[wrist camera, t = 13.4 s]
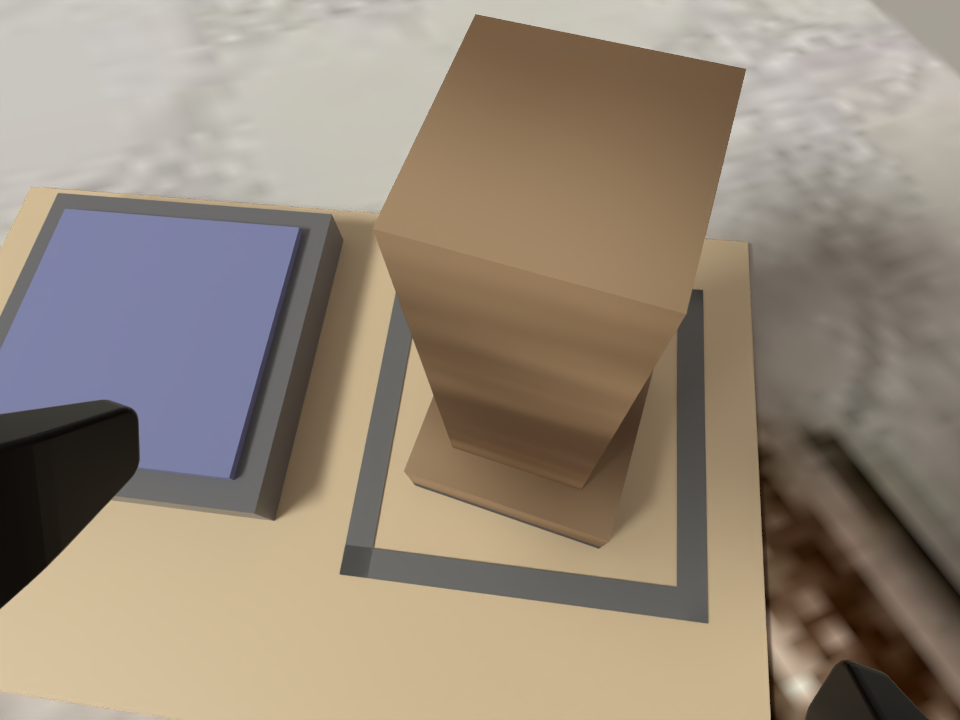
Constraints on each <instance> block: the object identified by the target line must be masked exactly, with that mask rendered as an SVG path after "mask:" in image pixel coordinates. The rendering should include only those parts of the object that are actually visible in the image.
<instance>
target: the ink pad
mask: <svg viewBox="0 0 960 720" xmlns="http://www.w3.org/2000/svg"><path fill="white" fill-rule="evenodd" d="M342 244H343V238H342V235H341V233H340V231H339V229H338V227H337V224H336V222H335V220H334V218H333V216H332V214H324V213H311V212H298V211H286V210H273V209H260V208H247V207H234V206H221V205H208V204H195V203H183V202H170V201H157V200H144V199H131V198H118V197H105V196H92V195H80V194H67V193H58V194H57V196H56V198H55V200H54V202H53V204H52V207H51V209H50V211H49V213H48V215H47V217H46V219H45V222H44V224H43V226H42V228H41V230H40V232H39V234H38V236H37V239H36V241H35V243H34V245H33V247H32V249H31V251H30V254H29V256H28V258H27V260H26V262H25V264H24V266H23V268H22V271H21V273H20V275H19V277H18V279H17V281H16V283H15V286H14V288H13V290H12V292H11V294H10V296H9V298H8V300H7V303H6V305H5V307H4V309H3V311H2V313H1V315H0V414H4V413H11V412H18V411H25V410H32V409H39V408H46V407H53V406H60V405H67V404H74V403H81V402H88V401H95V400H103V399H105V400H111V401H114V402H117V403H120V404H123V405H125V406H128V407H131V408H132V409H134V410H135V411H136V413H137V415H138V419H139V446H140V462H139V466H138V468H137V470H136V472H135V474H134V476H133V477H132V478H131V479H130V481H129V482H128V483H127V484H126V485H125V486H124V487H123V488H122V489H121V490H120V491H119V492H118V493H117V494H116V495H115V496H114V497H113V499H112V501H120V502H128V503H136V504H144V505H152V506H160V507H168V508H176V509H183V510H191V511H199V512H207V513H215V514H223V515H231V516H239V517H247V518H255V519H263V520H271V521H275V517H276V513H277V509H278V505H279V501H280V497H281V493H282V489H283V485H284V481H285V477H286V473H287V468H288V464H289V460H290V456H291V452H292V448H293V444H294V440H295V436H296V432H297V428H298V424H299V420H300V415H301V411H302V407H303V403H304V399H305V395H306V391H307V387H308V383H309V379H310V375H311V371H312V367H313V363H314V358H315V354H316V350H317V346H318V342H319V338H320V334H321V330H322V326H323V322H324V318H325V314H326V310H327V306H328V301H329V297H330V293H331V289H332V285H333V281H334V277H335V273H336V269H337V265H338V261H339V257H340V253H341V248H342Z"/></svg>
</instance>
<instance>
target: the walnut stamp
mask: <svg viewBox="0 0 960 720" xmlns="http://www.w3.org/2000/svg"><path fill="white" fill-rule="evenodd" d="M745 71H746V69H743V68H738V67H734V66H729V65H724V64H719V63H714V62H709V61H704V60H699V59H694V58H689V57H684V56H679V55H674V54H669V53H664V52H659V51H654V50H649V49H644V48H640V47H635V46H630V45H625V44H620V43H615V42H610V41H605V40H600V39H595V38H590V37H585V36H580V35H575V34H570V33H565V32H560V31H555V30H550V29H545V28H541V27H536V26H531V25H526V24H521V23H516V22H511V21H506V20H501V19H496V18H491V17H486V16H481V15H475V17H474V19H473V21H472V23H471V25H470V27H469V29H468V31H467V33H466V35H465V37H464V40H463V42H462V44H461V46H460V48H459V50H458V52H457V54H456V56H455V58H454V60H453V62H452V64H451V67H450V69H449V71H448V73H447V75H446V77H445V79H444V81H443V83H442V85H441V87H440V89H439V92H438V94H437V96H436V98H435V100H434V102H433V104H432V106H431V108H430V110H429V112H428V114H427V117H426V119H425V121H424V123H423V125H422V127H421V129H420V131H419V133H418V135H417V137H416V139H415V141H414V144H413V146H412V148H411V150H410V152H409V154H408V156H407V158H406V160H405V162H404V164H403V166H402V169H401V171H400V173H399V175H398V177H397V179H396V181H395V183H394V185H393V187H392V189H391V191H390V193H389V196H388V198H387V200H386V202H385V204H384V206H383V208H382V210H381V212H380V214H379V216H378V218H377V221H376V223H375V225H374V227H373V231H374V234H375V237H376V239H377V242H378V245H379V248H380V250H381V253H382V256H383V259H384V261H385V264H386V267H387V270H388V272H389V275H390V278H391V280H392V283H393V286H394V289H395V291H396V294H397V297H398V300H399V302H400V305H401V308H402V311H403V313H404V316H405V319H406V321H407V324H408V327H409V330H410V332H411V335H412V338H413V341H414V343H415V346H416V349H417V352H418V354H419V357H420V360H421V362H422V365H423V368H424V371H425V373H426V376H427V379H428V382H429V384H430V387H431V390H432V393H433V398H432V401H431V403H430V406H429V408H428V411H427V413H426V416H425V418H424V421H423V424H422V426H421V429H420V431H419V434H418V436H417V439H416V441H415V444H414V446H413V449H412V452H411V454H410V457H409V459H408V462H407V464H406V467H405V469H404V472H405V473H406V475H407V476H408V477H409V478H410V480H411V481H412V482H413V484H414V485H415V486H418V487H421V488H424V489H427V490H430V491H432V492H435V493H438V494H441V495H444V496H447V497H450V498H453V499H456V500H459V501H461V502H464V503H467V504H470V505H473V506H476V507H479V508H482V509H485V510H488V511H490V512H493V513H496V514H499V515H502V516H505V517H508V518H511V519H514V520H517V521H519V522H522V523H525V524H528V525H531V526H534V527H537V528H540V529H543V530H546V531H548V532H551V533H554V534H557V535H560V536H563V537H566V538H569V539H572V540H575V541H577V542H580V543H583V544H586V545H589V546H592V547H595V548H598V549H599V548H601V547H602V546H604V545H605V544H607V543H608V542H610V538H611V534H612V530H613V526H614V522H615V518H616V514H617V510H618V507H619V503H620V499H621V495H622V491H623V487H624V483H625V479H626V475H627V471H628V467H629V464H630V460H631V456H632V452H633V448H634V444H635V440H636V436H637V432H638V428H639V425H640V421H641V417H642V413H643V409H644V405H645V401H646V397H647V393H648V389H649V386H650V382H651V378H652V374H653V370H654V367H655V366H656V364H657V362H658V361H659V359H660V357H661V356H662V354H663V352H664V351H665V349H666V347H667V346H668V344H669V342H670V340H671V339H672V337H673V335H674V334H675V332H676V330H677V329H678V327H679V325H680V324H681V322H682V320H683V319H684V317H685V315H686V313H687V309H688V305H689V301H690V297H691V293H692V289H693V285H694V280H695V276H696V272H697V268H698V264H699V260H700V256H701V252H702V248H703V244H704V239H705V235H706V231H707V227H708V223H709V219H710V215H711V211H712V207H713V203H714V198H715V194H716V190H717V186H718V182H719V178H720V174H721V170H722V166H723V162H724V157H725V153H726V149H727V145H728V141H729V137H730V133H731V129H732V125H733V121H734V117H735V112H736V108H737V104H738V100H739V96H740V92H741V88H742V84H743V80H744V76H745Z"/></svg>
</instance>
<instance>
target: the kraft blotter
mask: <svg viewBox="0 0 960 720" xmlns="http://www.w3.org/2000/svg"><path fill="white" fill-rule="evenodd" d="M58 193H67V194H80V195H92V196H105V197H118V198H131V199H144V200H157V201H170V202H183V203H195V204H208V205H221V206H234V207H247V208H260V209H273V210H286V211H298V212H311V213H324V214H332V216H333V218H334V220H335V222H336V224H337V227H338V229H339V231H340V233H341V235H342V238H343V244H342V248H341V253H340V257H339V261H338V265H337V269H336V273H335V277H334V281H333V285H332V289H331V293H330V297H329V301H328V306H327V310H326V314H325V318H324V322H323V326H322V330H321V334H320V338H319V342H318V346H317V350H316V354H315V358H314V363H313V367H312V371H311V375H310V379H309V383H308V387H307V391H306V395H305V399H304V403H303V407H302V411H301V415H300V420H299V424H298V428H297V432H296V436H295V440H294V444H293V448H292V452H291V456H290V460H289V464H288V468H287V473H286V477H285V481H284V485H283V489H282V493H281V497H280V501H279V505H278V509H277V513H276V517H275V521H271V520H263V519H255V518H247V517H239V516H231V515H223V514H215V513H207V512H199V511H191V510H183V509H176V508H168V507H160V506H152V505H144V504H136V503H128V502H120V501H112V500H111V501H110V502H109V503H108V504H107V505H106V506H105V507H104V508H103V509H102V510H101V511H100V512H99V513H98V514H97V515H96V517H95V518H94V519H93V520H92V521H91V522H90V523H89V524H88V525H87V526H86V527H85V528H84V529H83V530H82V531H81V532H80V533H79V535H78V536H77V537H76V538H75V539H74V540H73V541H72V542H71V543H70V544H69V545H68V546H67V547H66V548H65V549H64V550H63V551H62V552H61V553H60V555H59V556H58V557H57V558H56V559H55V560H54V561H53V562H52V563H51V564H50V565H49V566H48V567H47V568H46V569H44V570H43V571H42V572H41V573H40V574H39V575H38V576H37V577H36V578H35V579H34V580H33V581H32V582H31V583H29V584H28V585H27V586H26V587H25V588H24V589H23V590H22V591H20V592H19V593H18V594H17V595H16V596H15V597H14V598H13V599H11V600H10V601H9V602H8V603H7V604H6V605H5V606H4V607H2V608H1V609H0V691H2V692H8V693H14V694H21V695H27V696H33V697H40V698H46V699H52V700H58V701H65V702H71V703H77V704H83V705H90V706H96V707H102V708H108V709H115V710H121V711H127V712H133V713H140V714H146V715H152V716H158V717H165V718H171V719H177V720H771V716H770V695H769V674H768V653H767V632H766V611H765V590H764V569H763V548H762V527H761V506H760V485H759V464H758V443H757V422H756V401H755V380H754V359H753V338H752V318H751V297H750V276H749V255H748V242H741V241H728V240H715V239H704V244H703V248H702V252H701V256H700V260H699V264H698V268H697V272H696V276H695V280H694V285H693V289H692V293H691V297H690V301H689V305H688V309H687V313H686V315H685V317H684V319H683V320H682V322H681V324H680V325H679V327H678V329H677V330H676V332H675V334H674V335H673V337H672V339H671V340H670V342H669V344H668V346H667V347H666V349H665V351H664V352H663V354H662V356H661V357H660V359H659V361H658V362H657V364H656V366H655V367H654V370H653V374H652V378H651V382H650V386H649V389H648V393H647V397H646V401H645V405H644V409H643V413H642V417H641V421H640V425H639V428H638V432H637V436H636V440H635V444H634V448H633V452H632V456H631V460H630V464H629V467H628V471H627V475H626V479H625V483H624V487H623V491H622V495H621V499H620V503H619V507H618V510H617V514H616V518H615V522H614V526H613V530H612V534H611V538H610V542H608V543H607V544H605V545H604V546H602V547H601V548H599V549H598V548H595V547H592V546H589V545H586V544H583V543H580V542H577V541H575V540H572V539H569V538H566V537H563V536H560V535H557V534H554V533H551V532H548V531H546V530H543V529H540V528H537V527H534V526H531V525H528V524H525V523H522V522H519V521H517V520H514V519H511V518H508V517H505V516H502V515H499V514H496V513H493V512H490V511H488V510H485V509H482V508H479V507H476V506H473V505H470V504H467V503H464V502H461V501H459V500H456V499H453V498H450V497H447V496H444V495H441V494H438V493H435V492H432V491H430V490H427V489H424V488H421V487H418V486H415V485H414V484H413V482H412V481H411V480H410V478H409V477H408V476H407V475H406V473H405V472H404V469H405V467H406V464H407V462H408V459H409V457H410V454H411V452H412V449H413V446H414V444H415V441H416V439H417V436H418V434H419V431H420V429H421V426H422V424H423V421H424V418H425V416H426V413H427V411H428V408H429V406H430V403H431V401H432V398H433V393H432V390H431V387H430V384H429V382H428V379H427V376H426V373H425V371H424V368H423V365H422V362H421V360H420V357H419V354H418V352H417V349H416V346H415V343H414V341H413V338H412V335H411V332H410V330H409V327H408V324H407V321H406V319H405V316H404V313H403V311H402V308H401V305H400V302H399V300H398V297H397V294H396V291H395V289H394V286H393V283H392V280H391V278H390V275H389V272H388V270H387V267H386V264H385V261H384V259H383V256H382V253H381V250H380V248H379V245H378V242H377V239H376V237H375V234H374V231H373V227H374V225H375V223H376V221H377V218H378V216H379V214H377V213H364V212H351V211H338V210H325V209H312V208H299V207H286V206H273V205H260V204H247V203H234V202H221V201H208V200H195V199H183V198H170V197H157V196H144V195H131V194H118V193H105V192H92V191H79V190H66V189H53V188H40V187H31V188H30V190H29V192H28V194H27V196H26V198H25V200H24V202H23V204H22V206H21V208H20V210H19V213H18V215H17V217H16V219H15V221H14V223H13V225H12V227H11V229H10V231H9V233H8V235H7V237H6V239H5V241H4V243H3V245H2V247H1V249H0V315H1V313H2V311H3V309H4V307H5V305H6V303H7V300H8V298H9V296H10V294H11V292H12V290H13V288H14V286H15V283H16V281H17V279H18V277H19V275H20V273H21V271H22V268H23V266H24V264H25V262H26V260H27V258H28V256H29V254H30V251H31V249H32V247H33V245H34V243H35V241H36V239H37V236H38V234H39V232H40V230H41V228H42V226H43V224H44V222H45V219H46V217H47V215H48V213H49V211H50V209H51V207H52V204H53V202H54V200H55V198H56V196H57V194H58Z"/></svg>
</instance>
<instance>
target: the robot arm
mask: <svg viewBox="0 0 960 720" xmlns="http://www.w3.org/2000/svg"><path fill="white" fill-rule="evenodd" d="M139 462H140V446H139V419H138V415H137V413H136V411H135V410H134V409H132V408H131V407H128V406H125V405H123V404H120V403H117V402H114V401H111V400H105V399H103V400H95V401H88V402H81V403H74V404H67V405H60V406H53V407H46V408H39V409H32V410H25V411H18V412H11V413H4V414H0V609H1V608H2V607H4V606H5V605H6V604H7V603H8V602H9V601H10V600H11V599H13V598H14V597H15V596H16V595H17V594H18V593H19V592H20V591H22V590H23V589H24V588H25V587H26V586H27V585H28V584H29V583H31V582H32V581H33V580H34V579H35V578H36V577H37V576H38V575H39V574H40V573H41V572H42V571H43V570H44V569H46V568H47V567H48V566H49V565H50V564H51V563H52V562H53V561H54V560H55V559H56V558H57V557H58V556H59V555H60V553H61V552H62V551H63V550H64V549H65V548H66V547H67V546H68V545H69V544H70V543H71V542H72V541H73V540H74V539H75V538H76V537H77V536H78V535H79V533H80V532H81V531H82V530H83V529H84V528H85V527H86V526H87V525H88V524H89V523H90V522H91V521H92V520H93V519H94V518H95V517H96V515H97V514H98V513H99V512H100V511H101V510H102V509H103V508H104V507H105V506H106V505H107V504H108V503H109V502H110V501H111V500H112V499H113V497H114V496H115V495H116V494H117V493H118V492H119V491H120V490H121V489H122V488H123V487H124V486H125V485H126V484H127V483H128V482H129V481H130V479H131V478H132V477H133V476H134V474H135V472H136V470H137V468H138V466H139ZM805 720H929V719H928V718H927V717H926V716H925V715H924V714H923V713H922V712H921V711H920V710H919V709H918V708H917V707H916V706H915V704H914V703H913V702H912V701H911V700H910V699H909V698H908V697H907V696H906V695H905V694H904V693H903V692H902V691H901V689H900V688H899V687H898V686H897V685H896V684H895V683H894V682H893V681H892V680H891V679H890V678H889V677H888V676H887V675H886V674H884V673H883V672H881V671H879V670H876V669H873V668H870V667H867V666H865V665H862V664H859V663H856V662H853V661H850V660H843V661H840V662H839V663H837V664H836V665H835V666H834V668H833V669H832V671H831V672H830V674H829V675H828V677H827V679H826V680H825V682H824V683H823V685H822V686H821V688H820V690H819V691H818V693H817V694H816V696H815V698H814V699H813V701H812V702H811V704H810V706H809V708H808V710H807V713H806V718H805Z"/></svg>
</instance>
